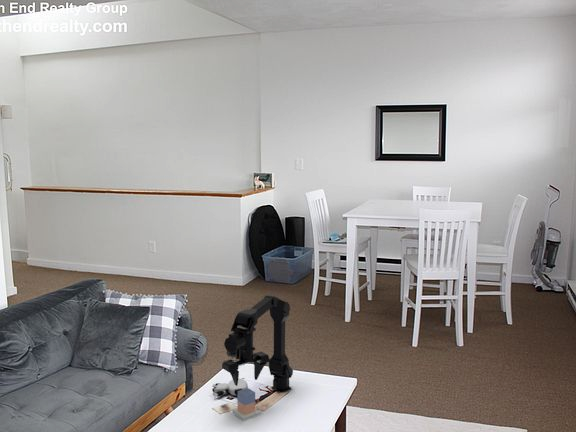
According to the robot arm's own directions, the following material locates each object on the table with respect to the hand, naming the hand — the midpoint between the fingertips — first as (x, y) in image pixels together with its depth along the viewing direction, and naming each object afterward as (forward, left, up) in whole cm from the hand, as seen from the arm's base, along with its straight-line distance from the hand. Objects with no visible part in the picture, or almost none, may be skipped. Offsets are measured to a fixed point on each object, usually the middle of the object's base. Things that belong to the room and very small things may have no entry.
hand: (246, 382), depth 225 cm
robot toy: (-5, -20, -13) cm, 24 cm away
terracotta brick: (0, 0, -12) cm, 12 cm away
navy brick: (0, 0, -8) cm, 8 cm away
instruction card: (+4, -9, -13) cm, 16 cm away
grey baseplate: (0, 0, -13) cm, 13 cm away
